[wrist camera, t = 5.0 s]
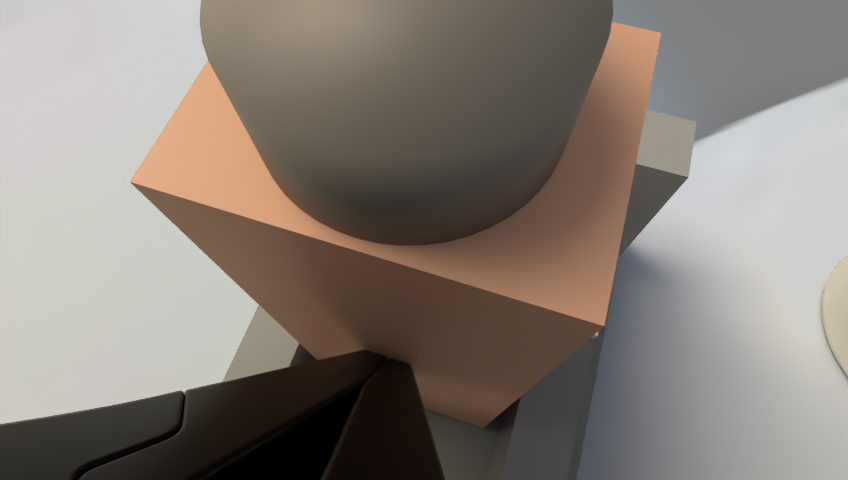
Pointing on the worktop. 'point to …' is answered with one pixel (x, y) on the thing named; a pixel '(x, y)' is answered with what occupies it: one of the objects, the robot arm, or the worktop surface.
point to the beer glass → (837, 312)
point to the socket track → (557, 391)
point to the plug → (414, 177)
